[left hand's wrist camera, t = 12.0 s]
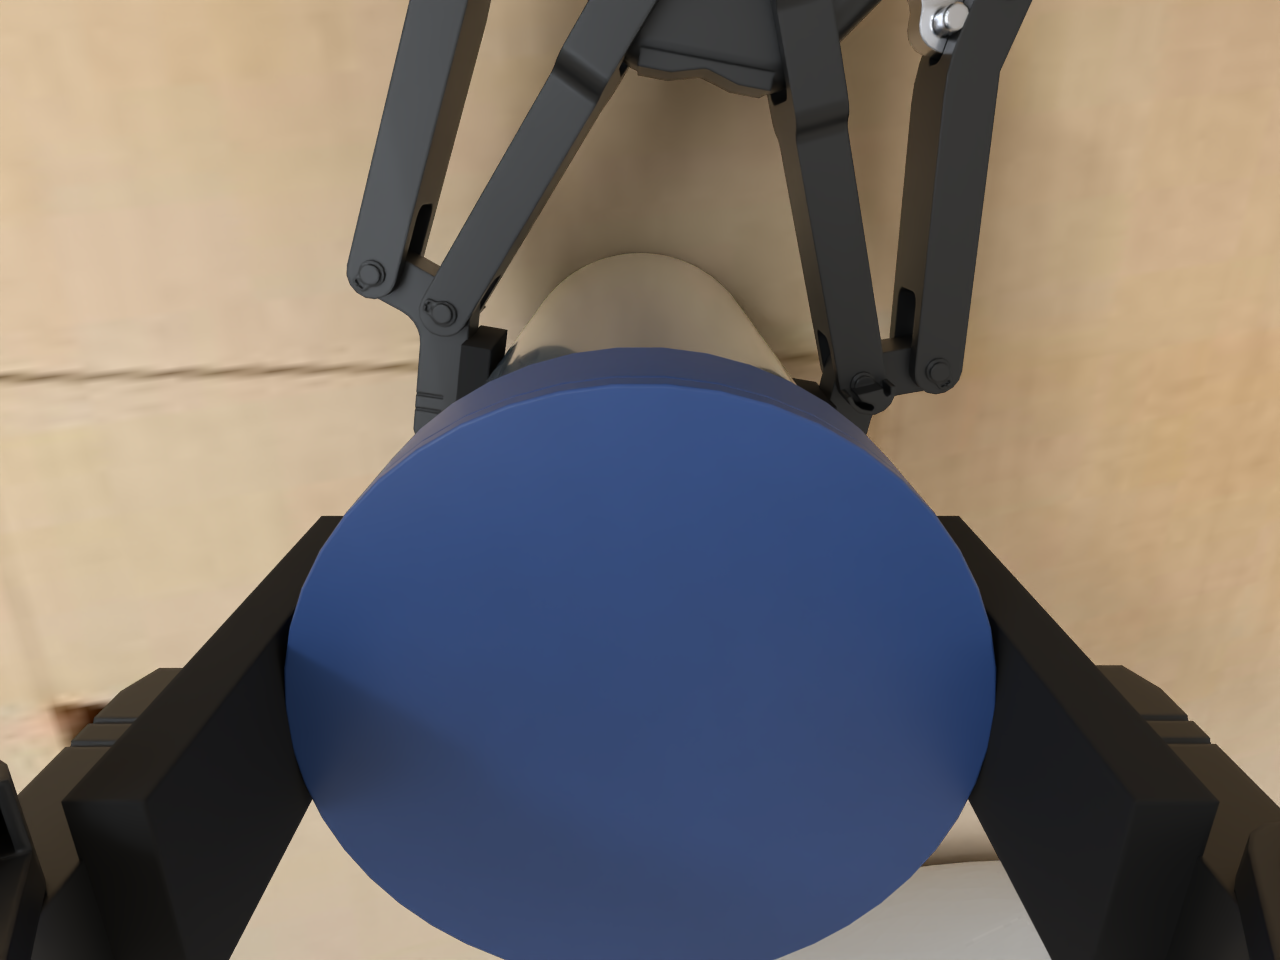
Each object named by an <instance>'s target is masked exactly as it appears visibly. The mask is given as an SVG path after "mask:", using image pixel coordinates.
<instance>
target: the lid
mask: <svg viewBox="0 0 1280 960" xmlns="http://www.w3.org/2000/svg"><path fill="white" fill-rule="evenodd" d="M284 678H285V706H286V712H287V717H288V723H289V728H290V734H291V739H292V745H293V750H294V754H295V757H296V760H297V763H298V766H299V768H300V771H301V774H302V777H303V780H304V783H305V785H306V787H307V789H308V791H309V793H310V795H311V797H312V799H313V801H314V803H315V805H316V807H317V809H318V811H319V813H320V815H321V816H322V818H323V820H324V821H325V823H326V824H327V825H328V827H329V828H330V830H331V831H332V833H333V834H334V835H335V837H336V838H337V840H338V841H339V843H340V844H341V846H342V847H343V848H344V850H345V851H346V852H347V853H348V854H349V855H350V856H351V857H352V859H353V860H354V861H355V862H356V863H357V864H358V865H359V866H360V867H361V868H362V870H363V871H364V872H365V873H366V874H367V875H368V876H369V877H370V878H371V879H372V880H373V881H374V882H375V883H377V884H378V885H379V886H380V887H381V888H382V889H383V890H385V891H386V892H387V893H388V894H389V895H390V896H392V897H393V898H394V899H395V900H396V901H397V902H398V903H400V904H401V905H403V906H404V907H406V908H407V909H408V910H410V911H411V912H413V913H414V914H416V915H417V916H419V917H420V918H422V919H423V920H425V921H426V922H428V923H429V924H430V925H432V926H434V927H436V928H438V929H439V930H441V931H443V932H445V933H447V934H449V935H451V936H453V937H454V938H456V939H458V940H460V941H462V942H464V943H466V944H468V945H470V946H473V947H475V948H478V949H480V950H483V951H485V952H487V953H490V954H492V955H495V956H497V957H500V958H502V959H505V960H775V959H778V958H781V957H783V956H786V955H788V954H791V953H793V952H795V951H798V950H800V949H803V948H805V947H808V946H810V945H813V944H815V943H817V942H819V941H820V940H822V939H824V938H826V937H828V936H830V935H832V934H834V933H835V932H837V931H839V930H841V929H843V928H845V927H847V926H848V925H850V924H852V923H853V922H854V921H856V920H857V919H859V918H860V917H862V916H863V915H865V914H866V913H868V912H869V911H871V910H872V909H873V908H875V907H876V906H878V905H879V904H881V903H882V902H883V901H884V900H885V899H887V898H888V897H889V896H890V895H891V894H892V893H894V892H895V891H896V890H897V889H898V888H899V887H900V886H902V885H903V884H904V883H905V882H906V881H907V880H909V879H910V878H911V877H912V876H913V874H914V873H915V872H916V871H917V870H918V869H919V868H920V867H921V866H922V865H923V863H924V862H925V861H926V860H927V859H928V858H929V857H930V856H931V855H932V854H933V852H934V851H935V850H936V849H937V848H938V846H939V845H940V843H941V842H942V840H943V839H944V838H945V836H946V835H947V833H948V832H949V830H950V829H951V828H952V826H953V825H954V823H955V822H956V820H957V819H958V817H959V815H960V813H961V812H962V810H963V808H964V806H965V804H966V802H967V800H968V798H969V796H970V794H971V792H972V790H973V788H974V786H975V784H976V782H977V779H978V776H979V773H980V770H981V767H982V764H983V761H984V758H985V755H986V752H987V748H988V742H989V737H990V731H991V726H992V720H993V715H994V709H995V697H996V663H995V655H994V648H993V641H992V633H991V627H990V624H989V620H988V617H987V614H986V610H985V607H984V604H983V601H982V597H981V594H980V591H979V588H978V586H977V584H976V581H975V579H974V577H973V575H972V573H971V571H970V569H969V567H968V565H967V563H966V561H965V559H964V557H963V555H962V553H961V551H960V549H959V547H958V546H957V545H956V543H955V542H954V540H953V539H952V537H951V536H950V535H949V533H948V532H947V530H946V529H945V527H944V526H943V524H942V523H941V522H940V520H939V519H938V517H937V516H936V514H935V513H934V512H933V511H932V509H931V508H930V507H929V506H928V505H927V504H926V503H925V501H924V500H923V499H922V498H921V497H920V495H919V494H918V493H917V492H916V491H915V489H914V488H913V487H912V486H911V485H910V484H909V482H908V481H907V480H906V479H905V478H904V477H903V475H902V474H901V473H900V472H899V471H898V470H897V468H896V467H895V466H894V465H893V464H892V463H891V461H890V460H889V459H888V458H887V457H886V456H885V455H884V454H883V453H882V451H881V450H880V449H879V448H878V447H877V446H876V445H875V444H874V443H873V442H872V441H871V440H870V439H869V438H868V437H867V436H866V435H865V434H864V432H863V431H862V430H861V429H860V428H858V427H857V426H856V425H855V424H853V423H852V422H851V421H850V420H848V419H847V418H846V417H844V416H843V415H842V414H841V413H839V412H838V411H837V410H836V409H834V408H833V407H832V406H831V405H829V404H828V403H826V402H825V401H823V400H821V399H820V398H818V397H816V396H815V395H813V394H811V393H809V392H808V391H806V390H804V389H803V388H801V387H799V386H797V385H796V384H794V383H792V382H791V381H788V380H786V379H783V378H781V377H779V376H776V375H774V374H771V373H769V372H767V371H764V370H762V369H759V368H757V367H754V366H752V365H749V364H746V363H742V362H738V361H734V360H731V359H727V358H723V357H719V356H716V355H712V354H708V353H701V352H694V351H686V350H678V349H670V348H663V347H626V348H610V349H602V350H595V351H587V352H579V353H572V354H569V355H565V356H561V357H557V358H554V359H550V360H546V361H542V362H539V363H535V364H531V365H528V366H526V367H523V368H521V369H519V370H516V371H514V372H511V373H509V374H507V375H504V376H502V377H499V378H497V379H495V380H492V381H490V382H488V383H486V384H485V385H483V386H481V387H480V388H478V389H476V390H474V391H473V392H471V393H469V394H468V395H466V396H464V397H462V398H461V399H459V400H457V401H456V402H454V403H452V404H451V405H450V406H449V407H447V408H446V409H445V410H444V411H442V412H441V413H440V414H438V415H437V416H436V417H435V418H433V419H432V420H431V421H430V422H428V423H427V424H426V425H425V426H423V427H422V428H421V429H420V430H419V431H418V432H417V433H416V434H415V435H414V436H413V437H412V438H411V439H410V440H409V441H408V442H407V443H406V445H405V446H404V447H403V448H402V449H401V450H400V451H399V452H398V453H397V454H396V455H395V456H394V457H393V458H392V459H391V461H390V462H389V463H388V464H387V465H386V467H385V468H384V469H383V470H382V471H381V472H380V474H379V475H378V476H377V477H376V478H375V479H374V481H373V482H372V483H371V484H370V485H369V486H368V488H367V489H366V490H365V491H364V492H363V494H362V495H361V496H360V497H359V498H358V499H357V501H356V502H355V503H354V504H353V505H352V506H351V508H350V509H349V510H348V511H347V512H346V514H345V515H344V516H343V518H342V519H341V521H340V522H339V524H338V525H337V527H336V528H335V529H334V531H333V532H332V534H331V535H330V537H329V538H328V539H327V541H326V542H325V544H324V545H323V547H322V548H321V550H320V552H319V554H318V556H317V558H316V560H315V562H314V564H313V566H312V568H311V570H310V572H309V574H308V576H307V578H306V580H305V582H304V585H303V587H302V589H301V592H300V595H299V599H298V602H297V605H296V609H295V612H294V615H293V619H292V622H291V625H290V629H289V636H288V644H287V651H286V659H285V666H284Z"/></svg>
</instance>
